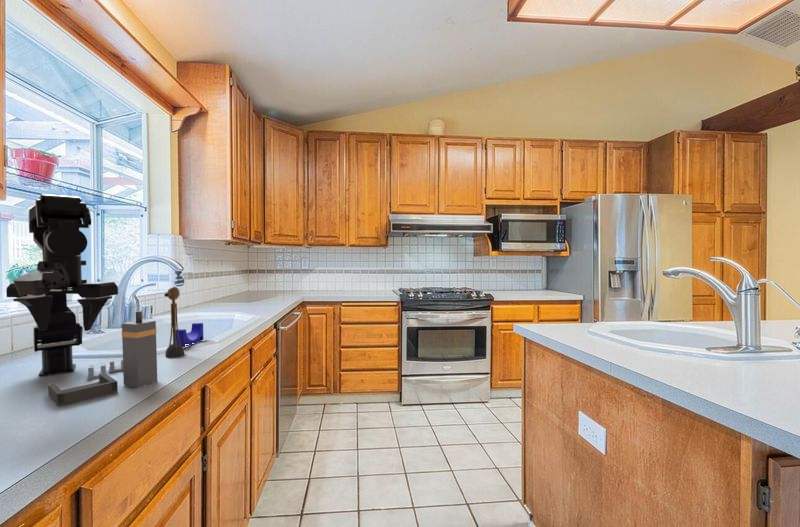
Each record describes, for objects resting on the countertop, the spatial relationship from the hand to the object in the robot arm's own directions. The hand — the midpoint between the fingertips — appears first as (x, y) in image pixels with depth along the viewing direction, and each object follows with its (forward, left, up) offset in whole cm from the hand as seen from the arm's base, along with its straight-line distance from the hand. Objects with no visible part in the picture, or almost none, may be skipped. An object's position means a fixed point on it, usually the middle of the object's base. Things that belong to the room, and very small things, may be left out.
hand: (65, 330), depth 79 cm
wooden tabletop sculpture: (-20, +22, -14) cm, 33 cm away
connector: (+2, +13, -14) cm, 19 cm away
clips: (-12, +9, -14) cm, 20 cm away
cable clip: (-34, +27, -14) cm, 46 cm away
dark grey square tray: (+2, +3, -14) cm, 14 cm away
